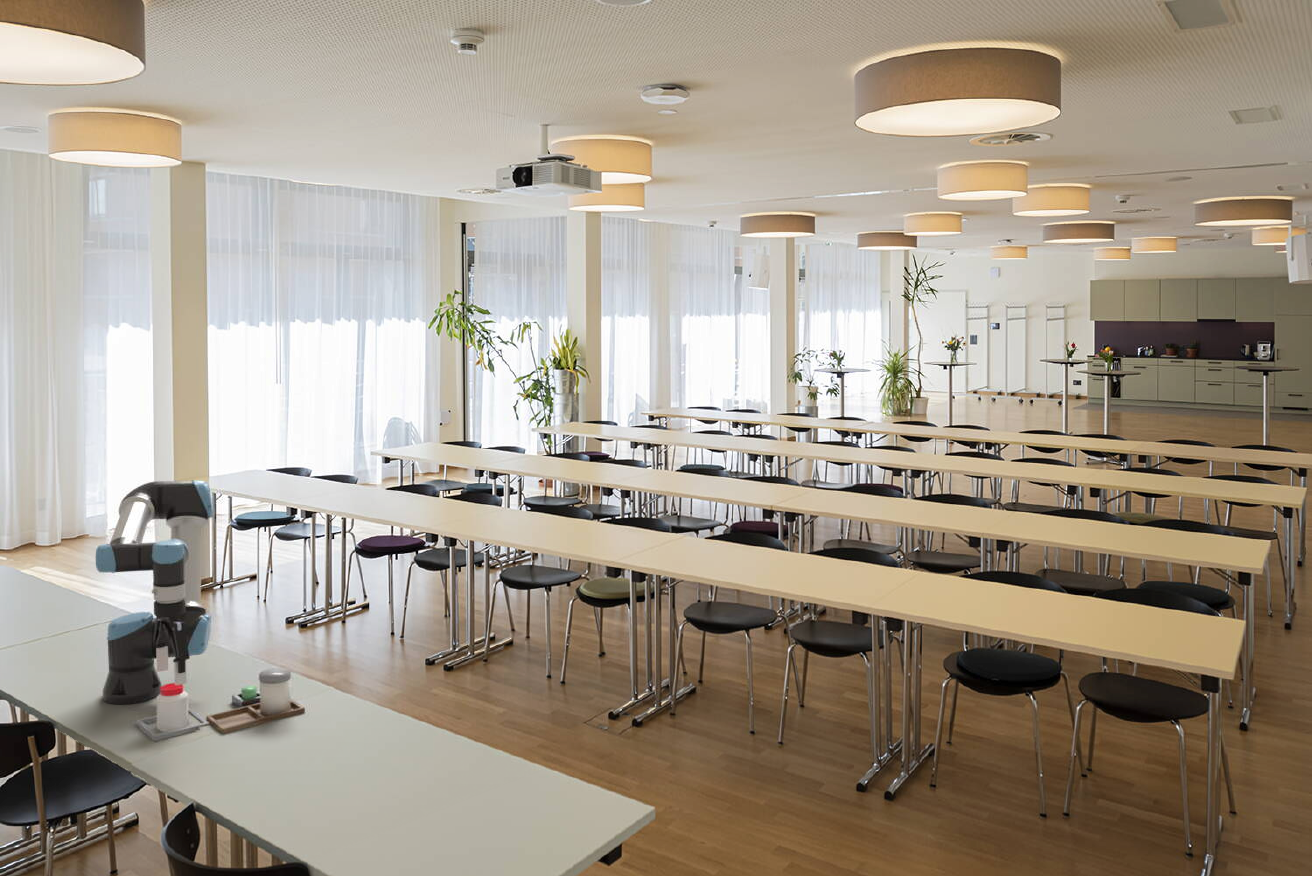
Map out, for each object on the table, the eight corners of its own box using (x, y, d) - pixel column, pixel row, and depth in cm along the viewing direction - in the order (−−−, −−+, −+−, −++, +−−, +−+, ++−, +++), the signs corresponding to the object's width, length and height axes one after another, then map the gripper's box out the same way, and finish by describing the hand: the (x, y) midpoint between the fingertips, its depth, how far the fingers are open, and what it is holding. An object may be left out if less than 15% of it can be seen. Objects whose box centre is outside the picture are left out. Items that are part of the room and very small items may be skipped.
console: (232, 705, 283) (231, 694, 282) (256, 699, 287) (256, 689, 287) (242, 712, 278) (241, 702, 277) (266, 706, 282) (266, 696, 282)
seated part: (254, 710, 277) (254, 672, 276) (283, 703, 283) (282, 666, 282) (267, 719, 271) (266, 680, 270) (296, 711, 277) (295, 673, 276)
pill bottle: (176, 733, 263) (174, 693, 261) (150, 730, 264) (149, 690, 263) (195, 722, 270) (194, 683, 269) (169, 719, 272) (168, 680, 270)
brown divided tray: (206, 723, 270) (206, 715, 269) (286, 702, 285) (286, 696, 285) (223, 736, 262) (222, 729, 261) (304, 714, 277) (304, 708, 277)
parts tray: (136, 724, 267) (136, 720, 267) (190, 711, 277) (190, 707, 277) (154, 741, 257) (153, 736, 257) (209, 727, 267) (209, 722, 267)
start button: (239, 701, 282) (239, 688, 282) (253, 698, 285) (253, 685, 285) (245, 705, 280) (244, 692, 279) (259, 702, 282) (259, 688, 282)
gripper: (138, 592, 269) (140, 668, 272) (171, 612, 252) (173, 693, 254) (167, 588, 275) (169, 662, 277) (201, 607, 257) (203, 686, 259)
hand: (171, 677), depth 265 cm, fingers open, 13 cm apart
